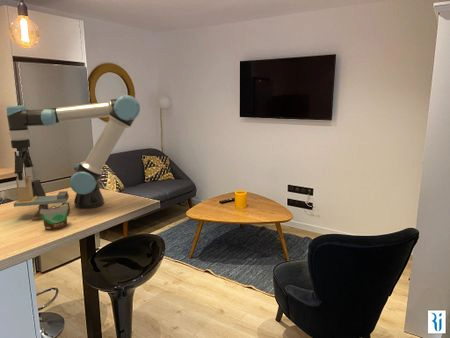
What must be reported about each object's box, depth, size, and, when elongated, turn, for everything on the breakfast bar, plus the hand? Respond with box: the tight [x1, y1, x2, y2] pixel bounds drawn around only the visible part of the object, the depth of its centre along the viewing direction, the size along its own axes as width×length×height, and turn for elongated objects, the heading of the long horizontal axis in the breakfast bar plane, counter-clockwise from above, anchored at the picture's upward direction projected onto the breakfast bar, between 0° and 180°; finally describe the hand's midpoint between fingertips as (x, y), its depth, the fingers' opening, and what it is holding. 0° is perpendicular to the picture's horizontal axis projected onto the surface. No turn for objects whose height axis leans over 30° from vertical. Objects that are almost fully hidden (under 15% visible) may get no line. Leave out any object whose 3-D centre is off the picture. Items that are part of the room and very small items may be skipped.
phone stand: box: [31, 179, 47, 197], centre depth 188 cm, size 9×6×12 cm, turn 88°
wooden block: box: [15, 175, 33, 202], centre depth 161 cm, size 5×5×11 cm
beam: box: [13, 190, 70, 208], centre depth 164 cm, size 22×10×4 cm, turn 107°
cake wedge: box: [40, 201, 69, 231], centre depth 149 cm, size 12×6×10 cm, turn 148°
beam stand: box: [31, 202, 71, 222], centre depth 166 cm, size 15×13×6 cm
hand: (26, 183), depth 160 cm, fingers open, 13 cm apart
